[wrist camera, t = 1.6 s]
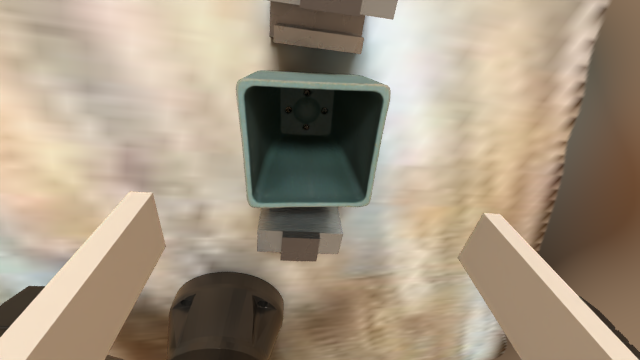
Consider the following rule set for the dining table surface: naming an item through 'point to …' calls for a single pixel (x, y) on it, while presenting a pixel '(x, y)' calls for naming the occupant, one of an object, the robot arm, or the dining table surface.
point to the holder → (324, 33)
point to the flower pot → (310, 138)
